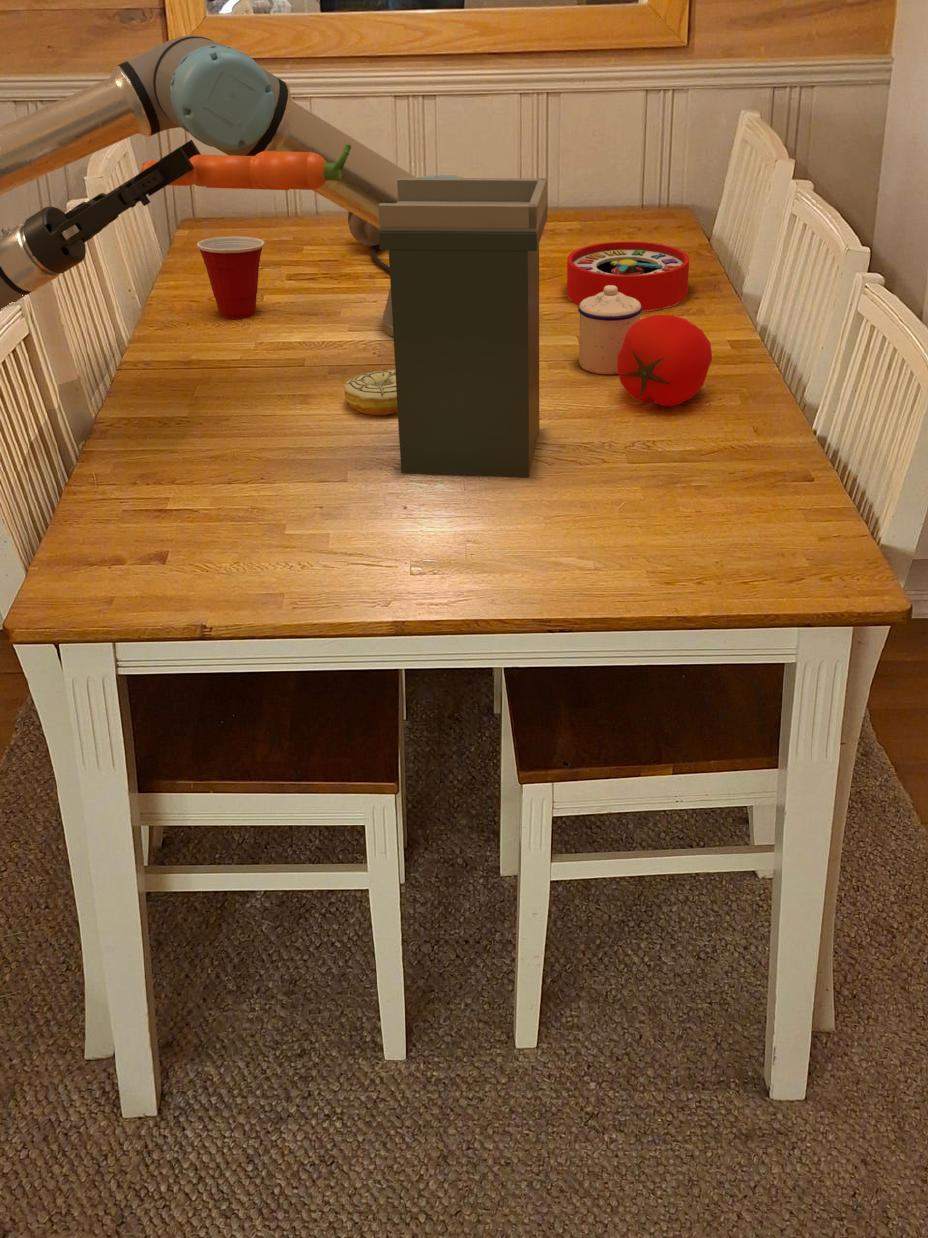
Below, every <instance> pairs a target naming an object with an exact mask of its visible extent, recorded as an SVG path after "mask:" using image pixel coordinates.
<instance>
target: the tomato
mask: <svg viewBox="0 0 928 1238" xmlns="http://www.w3.org/2000/svg"><path fill="white" fill-rule="evenodd" d="M712 360H713V352H712V345H711V342H710V340H709V338H708V337H707V335H706V334H705V332H704V330H702V329H701V328H699V327H698V326H697V325H696V324H693V322H690V321H689V320H687V319H686V318H684V317H680V316H676V315H673V314H653V315H649V316H646V317H642V318H640V320H639V321H637V322H635V323H634V324H633V325H632V326H631V327H630V328H629V330H628V332H627V334H626V336H625V339H624V342H623V345H622V348H621V350H620V352H619V354H618V362H617V368H618V373H619V374H618V376H619V381H620V384H621V385H622V387H623V388H624V389H625V390H626V392H627V394H629V395H630V396H631V397H632V399H634V400H638V401H640V402H643V403H656V404H657V405H659V406H662V407H663V406H665V407H671V408H672V407H673V408H674V407H676V406H677V405H680V404H682V403H685V402H686V401H689V400H691V399H692V398H693V397H694V396H696V394H697V393H698V392H699V391H700V390H701V389H702V388H703V386H704V384H705V381H706V378H707V375H708V372H709V370H710V369H709V368H710V366H711V362H712Z"/></svg>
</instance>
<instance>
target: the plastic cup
mask: <svg viewBox="0 0 928 1238" xmlns="http://www.w3.org/2000/svg"><path fill="white" fill-rule="evenodd" d="M196 247H197V249H198V250H199V252H200V253H201V258H202V259H203V263H204V266H205V269H206V272H207V276H208V279H209V280H208V281H209V284H210V287H211V290H212V293H213V297H214V299H215V302H216V307H217V310H218V313H219V315H220V317H222V318H224V319H228V320H240V319H246V318H250V317H252V316H254V315H255V314H256V310H257V294H258V288H259V285H258V284H259V271H260V262H261V255H262V251H263V248H264V247H265V240H263V239H260V238H257V237H253V236H237V235H235V236H217V237H216V236H215V237H210V238H206V239H202V240H199V241H198V242H197V243H196Z"/></svg>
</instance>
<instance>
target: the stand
mask: <svg viewBox="0 0 928 1238" xmlns="http://www.w3.org/2000/svg"><path fill="white" fill-rule="evenodd" d="M397 187H398V202H397V203H380V204H379V205H378V209H379V226H380V232H379V242H380V248H379V250H380V251H381V250H382V251H383V250H384V251H385V250H386V251H387V250H388V263H389V265H388V266H389V267H390V272H389V281H390V287H391V301H392V319H393V351H394V352H393V353H394V355H393V356H394V370H395V373H396V391H397V409H398V413H397V423H398V426H397V427H398V442H399V458H400V459H399V461H400V473H401V474H413V475H414V474H415V475H444V476H445V475H446V476H475V477H476V476H479V477H506V478H508V477H509V478H530V474H531V471H532V467H533V462H534V458H535V454H536V449H537V445H538V440H539V436H540V242H541V239H542V236H543V234H544V233H543V232H544V230H545V226H546V224H547V220H548V178H540V177H539V178H537V177H536V178H530V177H528V178H527V177H525V178H524V177H523V178H521V177H515V178H514V177H513V178H512V177H511V178H510V177H502V178H501V177H461V178H398V179H397Z"/></svg>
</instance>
